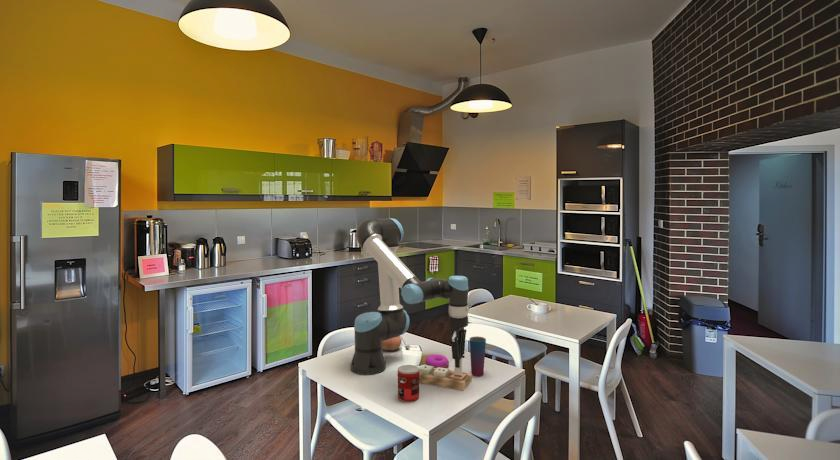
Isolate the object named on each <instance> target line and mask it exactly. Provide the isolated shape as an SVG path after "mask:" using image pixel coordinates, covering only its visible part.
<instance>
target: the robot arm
mask: <svg viewBox="0 0 840 460" xmlns="http://www.w3.org/2000/svg"><path fill="white" fill-rule="evenodd" d="M404 233H405V232H404V228H403V226H402V224H401V222H399V221H398V219H396V218H391V217H384V218H383V217H382V218H366V219H364V220H362V221H361V222H360V223H359V224H358V225H357V228H356V232H355V238H356V241H357V243H358V245H359V247H360V248H361V249H362V250H363V252H365V253H368V254H370V256H371V257H372V258H373V260H375V261H376V262H377V268H378V269H377V270H378V271H377V272H378V283H379V298H380V299H379V301H380V305H379V306H378V308H377V311H370V312H368V311H367V312H362V313H361V314H359V315H357V316H356V318H354V319H355V320H354V325H353V326H354V327H353V328H354V352H353V356H352V359H351V362H350V370H351V372H353V373H355V374H358V375H375V374H378V373H379V374H380V373H381V372H384V371H385V370H386V368H387V362H386V359H385V355H384V353H383V348H382V341H384V340H387V339H391V338H394V337H398V336H400V337H401V336H402V335H404V334H406V332H408V330H409V327H410V315H409V314H408V313H407V312H408V311H406V310H405V309H404V306H403V305H402V304H401V303H400V292H399V288H400V290H401V297H402V300H403V301H404V302H405V303H406V304H409V305H415V304H419V303H423V302H427V301H432V300H434V299H435V300H436V299H439V298H440V299H444V300H445V299H446V300H448V325H449V327H452V332H451V334H452V336H450V337H449V338H450V346H451V357H452V359H453V360H454V371H455V375H459V376H461V375H462V372H463V359H465V347H466V335H467V329H465V328H467V327H468V326H469V317H468V315H469V311H470V308H469V299H468V298H469V288H470V287H469V279H468V277H467V276H464V275H451V276H449V278H448V279H443V278H440V277H439V278H438V277H428V278H427V279H425V281H424V280H423V281H421V280H419V278H418V277H417V276H416V275H415V274H414V273H413V272H412V271H411V269H409V267H408V266H406V264H404V262H403V261H402V260H401V259H400V258H399V257H398V256H397V251H398V249H399V248H400V242H401V241H402V240H403V239H404Z"/></svg>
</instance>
